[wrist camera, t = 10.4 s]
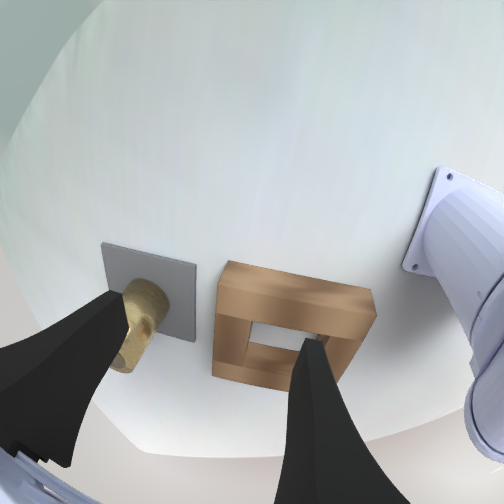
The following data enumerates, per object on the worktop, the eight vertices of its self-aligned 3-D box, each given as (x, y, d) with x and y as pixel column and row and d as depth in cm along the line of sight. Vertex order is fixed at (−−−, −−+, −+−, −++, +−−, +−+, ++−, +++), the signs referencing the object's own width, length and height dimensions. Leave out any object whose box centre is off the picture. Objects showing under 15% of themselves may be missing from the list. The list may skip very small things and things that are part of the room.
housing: (370, 289, 20) (377, 315, 18) (327, 372, 26) (327, 397, 23) (228, 260, 21) (217, 284, 18) (219, 352, 27) (211, 375, 24)
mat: (196, 264, 22) (194, 267, 21) (195, 339, 26) (194, 342, 26) (103, 242, 22) (100, 244, 22) (117, 315, 27) (115, 317, 27)
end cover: (174, 294, 23) (135, 357, 17) (163, 323, 25) (130, 381, 19) (131, 270, 23) (83, 324, 17) (125, 301, 25) (85, 353, 19)
